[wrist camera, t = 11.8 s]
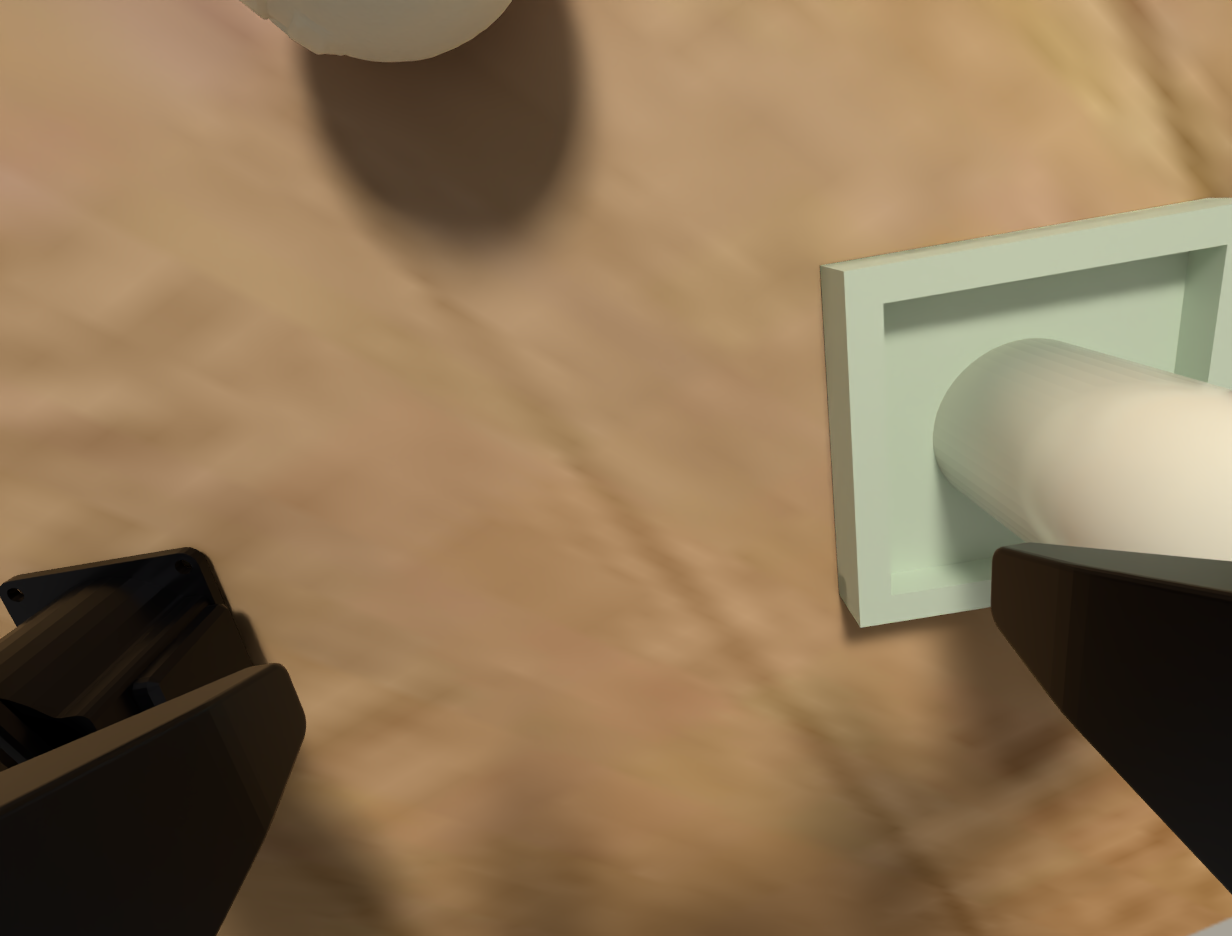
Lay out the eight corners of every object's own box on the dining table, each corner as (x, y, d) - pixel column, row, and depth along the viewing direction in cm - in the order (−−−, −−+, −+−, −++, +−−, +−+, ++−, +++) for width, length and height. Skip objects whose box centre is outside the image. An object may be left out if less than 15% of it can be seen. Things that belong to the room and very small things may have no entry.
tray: (839, 594, 24) (860, 627, 22) (819, 265, 20) (843, 271, 18) (1162, 542, 23) (1212, 571, 22) (1207, 198, 20) (1272, 197, 18)
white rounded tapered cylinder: (993, 534, 22) (1444, 898, 10) (898, 423, 21) (1296, 704, 9) (1137, 424, 21) (1822, 696, 9) (1047, 299, 20) (1723, 436, 8)
